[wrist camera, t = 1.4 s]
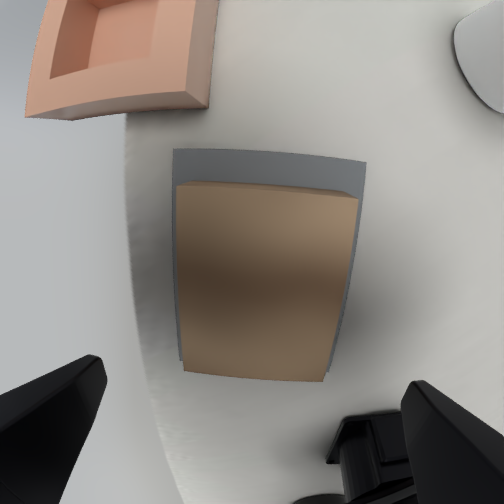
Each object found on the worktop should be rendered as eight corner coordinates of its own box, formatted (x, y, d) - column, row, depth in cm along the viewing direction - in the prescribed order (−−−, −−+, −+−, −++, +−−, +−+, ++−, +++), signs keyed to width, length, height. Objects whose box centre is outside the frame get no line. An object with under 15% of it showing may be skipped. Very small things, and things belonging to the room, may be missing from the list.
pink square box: (208, 108, 13) (185, 90, 9) (72, 120, 13) (24, 117, 9) (221, -22, 10) (208, -64, 6) (92, 2, 10) (56, -22, 7)
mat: (327, 367, 17) (328, 372, 16) (181, 356, 17) (179, 360, 17) (363, 162, 13) (366, 162, 13) (175, 148, 13) (173, 148, 13)
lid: (317, 352, 16) (322, 381, 14) (194, 343, 16) (184, 370, 14) (343, 191, 13) (358, 199, 11) (192, 180, 13) (176, 185, 11)
